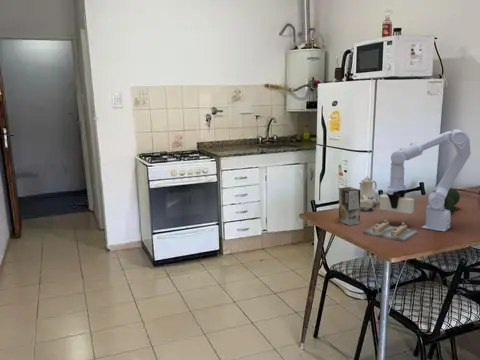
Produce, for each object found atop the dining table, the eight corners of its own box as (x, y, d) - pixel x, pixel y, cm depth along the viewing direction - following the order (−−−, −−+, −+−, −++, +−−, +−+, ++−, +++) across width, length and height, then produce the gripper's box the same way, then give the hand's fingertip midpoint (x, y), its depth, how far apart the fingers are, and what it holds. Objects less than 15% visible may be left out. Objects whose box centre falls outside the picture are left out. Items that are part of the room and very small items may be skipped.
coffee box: (360, 224, 201) (361, 190, 198) (348, 225, 199) (348, 191, 196) (350, 219, 209) (350, 186, 206) (338, 220, 208) (338, 187, 205)
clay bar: (413, 211, 193) (413, 198, 192) (409, 213, 190) (410, 200, 189) (383, 207, 202) (383, 194, 201) (379, 209, 199) (379, 196, 198)
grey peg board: (417, 233, 185) (417, 222, 184) (403, 241, 175) (404, 230, 174) (377, 225, 197) (377, 216, 196) (362, 233, 187) (362, 223, 186)
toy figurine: (451, 221, 205) (461, 205, 224) (453, 183, 200) (463, 170, 220) (430, 218, 211) (442, 203, 230) (431, 181, 206) (443, 169, 225)
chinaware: (368, 217, 218) (372, 185, 214) (341, 208, 230) (344, 177, 226) (398, 206, 235) (402, 177, 231) (372, 199, 248) (375, 170, 243)
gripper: (395, 174, 201) (394, 202, 204) (381, 179, 191) (380, 209, 193) (410, 175, 196) (409, 204, 199) (397, 181, 186) (396, 211, 188)
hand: (396, 207), depth 196 cm, fingers closed on clay bar, 4 cm apart
